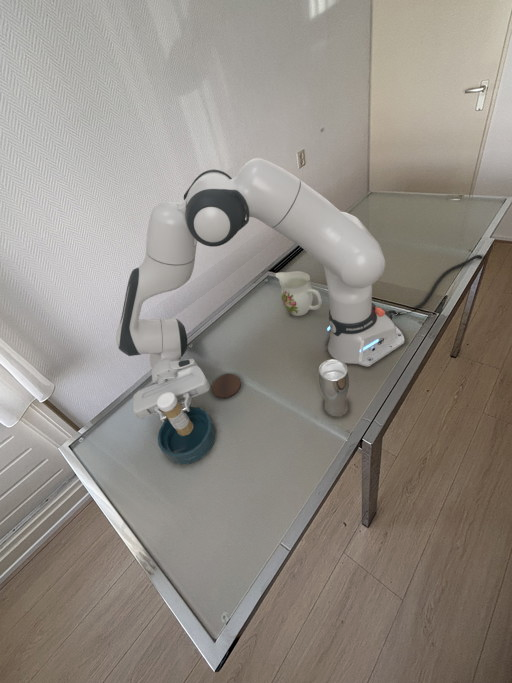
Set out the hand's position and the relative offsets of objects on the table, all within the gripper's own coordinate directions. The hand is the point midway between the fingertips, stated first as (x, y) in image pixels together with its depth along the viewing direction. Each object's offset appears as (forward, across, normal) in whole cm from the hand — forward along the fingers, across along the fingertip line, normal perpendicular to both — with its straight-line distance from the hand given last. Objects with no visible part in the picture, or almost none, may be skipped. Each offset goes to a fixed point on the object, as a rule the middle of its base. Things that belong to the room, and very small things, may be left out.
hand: (175, 415), depth 79 cm
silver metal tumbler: (+9, +39, +12) cm, 42 cm away
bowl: (0, 0, +11) cm, 11 cm away
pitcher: (-33, +49, +12) cm, 60 cm away
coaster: (-13, +14, +12) cm, 22 cm away
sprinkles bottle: (-1, 0, +8) cm, 8 cm away
